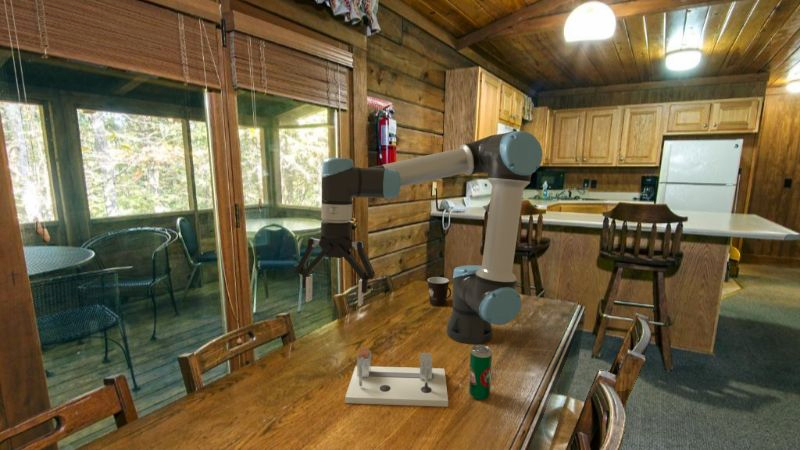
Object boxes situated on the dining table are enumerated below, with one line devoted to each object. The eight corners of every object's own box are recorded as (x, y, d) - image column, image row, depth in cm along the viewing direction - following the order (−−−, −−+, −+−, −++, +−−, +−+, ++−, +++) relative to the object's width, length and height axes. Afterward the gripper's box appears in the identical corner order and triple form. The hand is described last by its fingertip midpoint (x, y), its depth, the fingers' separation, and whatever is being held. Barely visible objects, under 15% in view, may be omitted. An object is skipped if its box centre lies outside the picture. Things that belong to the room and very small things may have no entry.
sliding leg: (370, 368, 98) (370, 348, 97) (366, 387, 90) (366, 364, 89) (359, 368, 98) (359, 347, 98) (354, 386, 90) (353, 364, 89)
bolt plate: (444, 373, 100) (444, 367, 99) (448, 406, 86) (448, 399, 85) (355, 371, 101) (355, 365, 101) (345, 403, 87) (345, 396, 87)
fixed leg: (431, 371, 97) (431, 351, 97) (432, 390, 89) (432, 368, 88) (420, 370, 98) (420, 350, 97) (419, 389, 89) (420, 368, 88)
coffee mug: (425, 300, 155) (425, 277, 154) (445, 299, 156) (446, 276, 155) (430, 310, 144) (431, 286, 142) (452, 310, 145) (453, 285, 143)
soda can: (467, 388, 93) (468, 343, 91) (487, 389, 93) (489, 343, 91) (470, 401, 88) (472, 353, 86) (492, 401, 88) (494, 354, 86)
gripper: (282, 219, 90) (281, 303, 93) (383, 225, 88) (380, 311, 91) (294, 216, 98) (293, 293, 100) (387, 221, 95) (384, 301, 98)
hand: (334, 302), depth 95 cm, fingers open, 13 cm apart
